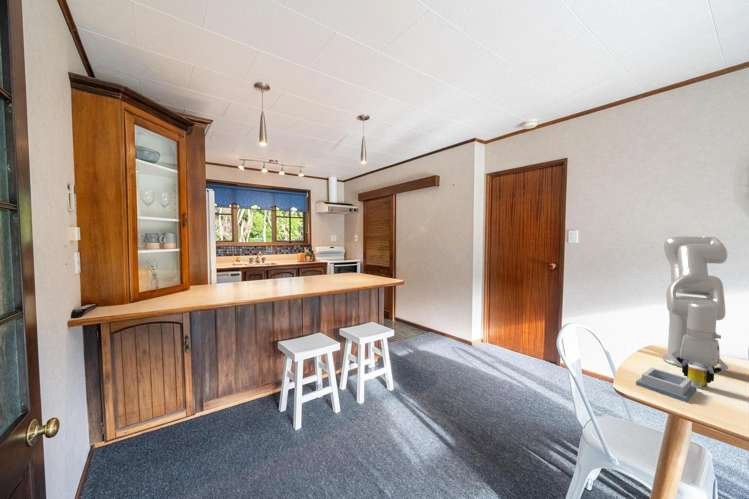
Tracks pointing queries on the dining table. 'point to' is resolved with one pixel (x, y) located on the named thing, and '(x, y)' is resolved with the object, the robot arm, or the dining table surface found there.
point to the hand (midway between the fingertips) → (697, 378)
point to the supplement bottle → (697, 374)
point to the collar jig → (667, 384)
